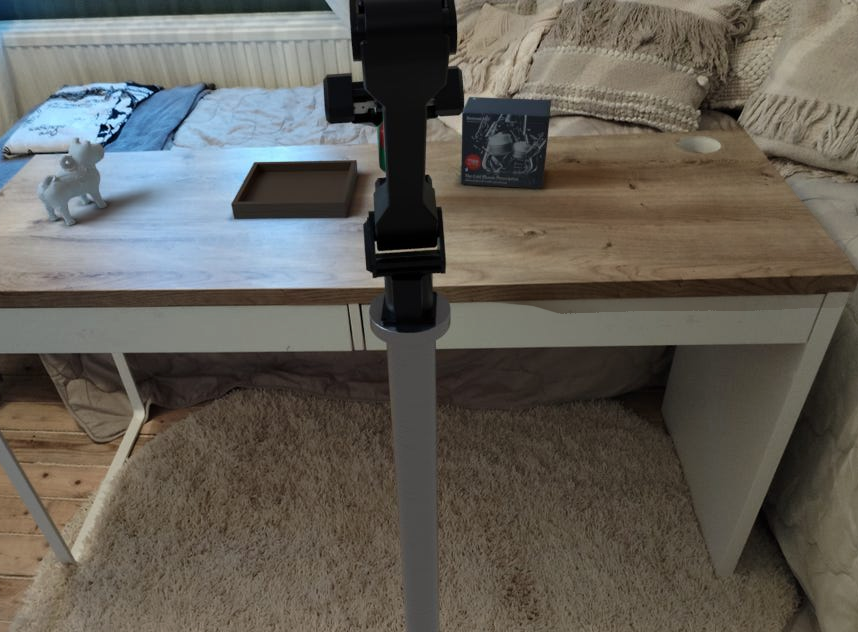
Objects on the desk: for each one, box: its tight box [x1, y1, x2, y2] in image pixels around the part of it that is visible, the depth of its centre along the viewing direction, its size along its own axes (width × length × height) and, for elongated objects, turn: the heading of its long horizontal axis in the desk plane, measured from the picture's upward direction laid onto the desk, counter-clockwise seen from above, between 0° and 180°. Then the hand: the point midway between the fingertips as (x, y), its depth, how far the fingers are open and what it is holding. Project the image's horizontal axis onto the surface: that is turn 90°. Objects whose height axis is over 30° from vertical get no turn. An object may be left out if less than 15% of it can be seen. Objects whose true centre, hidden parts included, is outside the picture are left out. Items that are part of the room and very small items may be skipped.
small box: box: [460, 96, 552, 190], centre depth 111 cm, size 13×7×12 cm, turn 76°
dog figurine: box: [36, 137, 108, 226], centre depth 112 cm, size 5×13×11 cm, turn 152°
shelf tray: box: [230, 159, 359, 220], centre depth 114 cm, size 16×18×2 cm
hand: (393, 122), depth 104 cm, fingers closed on soda can, 5 cm apart
